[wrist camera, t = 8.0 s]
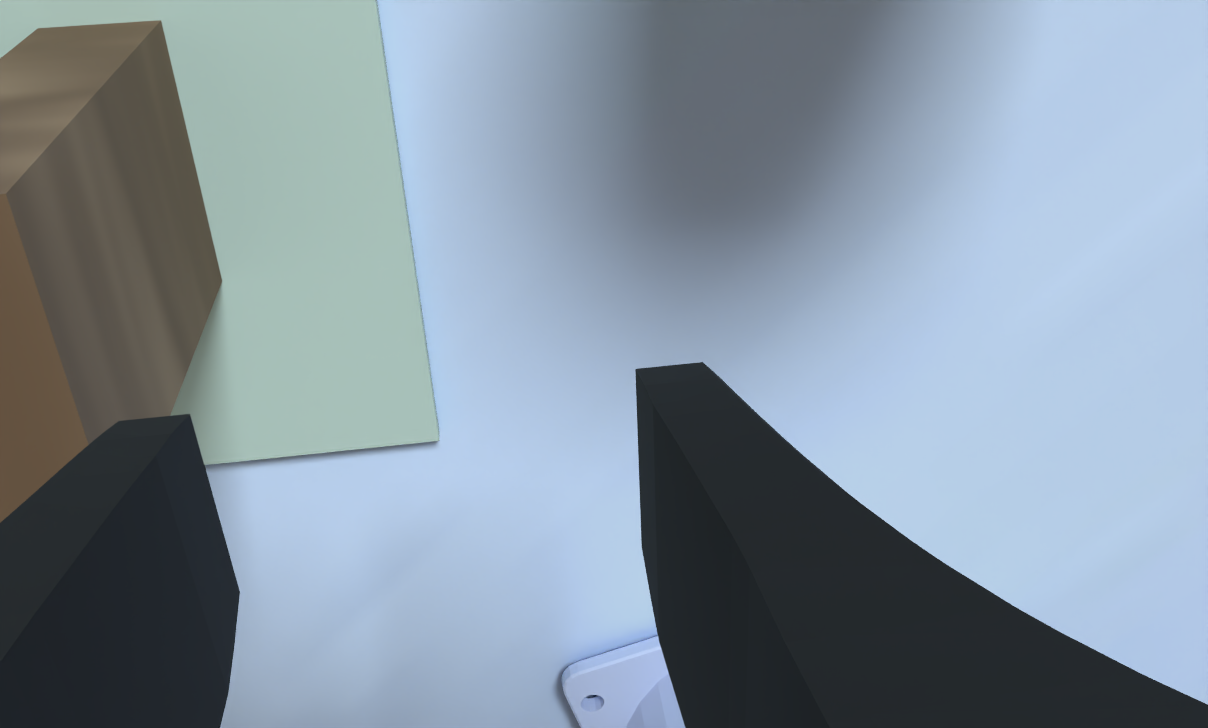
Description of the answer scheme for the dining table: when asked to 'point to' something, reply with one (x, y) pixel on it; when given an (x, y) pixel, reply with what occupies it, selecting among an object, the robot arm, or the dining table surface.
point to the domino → (93, 244)
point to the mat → (289, 222)
